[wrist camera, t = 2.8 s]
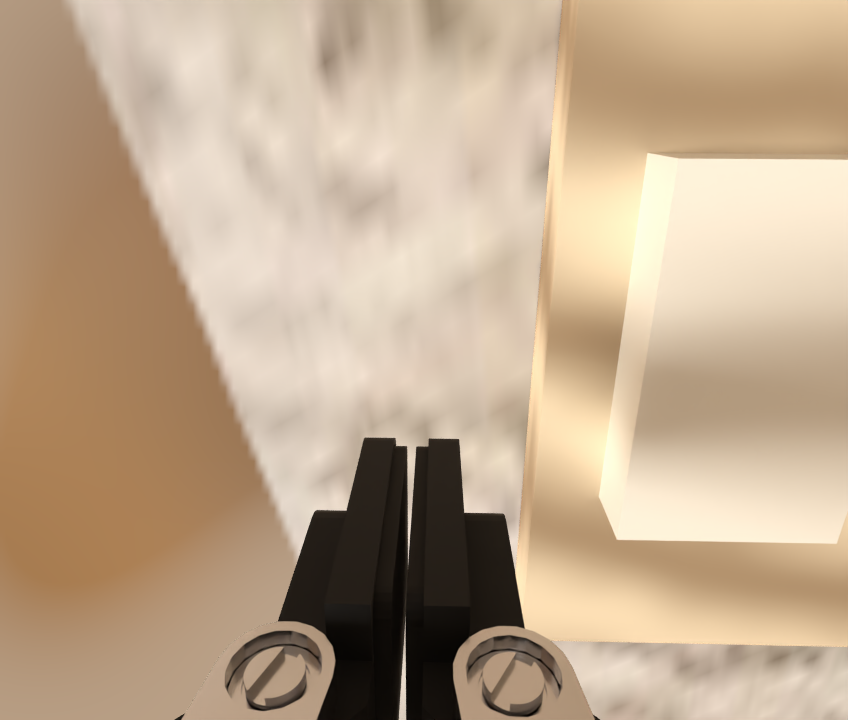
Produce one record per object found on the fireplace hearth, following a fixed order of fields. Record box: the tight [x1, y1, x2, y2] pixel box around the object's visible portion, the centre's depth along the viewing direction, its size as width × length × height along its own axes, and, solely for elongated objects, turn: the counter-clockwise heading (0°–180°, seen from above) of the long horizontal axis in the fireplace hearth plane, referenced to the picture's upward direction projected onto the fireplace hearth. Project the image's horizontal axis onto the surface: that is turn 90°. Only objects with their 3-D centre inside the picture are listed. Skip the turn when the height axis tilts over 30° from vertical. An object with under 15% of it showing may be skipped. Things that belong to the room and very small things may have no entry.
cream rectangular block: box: [599, 153, 848, 544], centre depth 15 cm, size 10×6×2 cm, turn 0°
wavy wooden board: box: [515, 0, 848, 647], centre depth 17 cm, size 22×14×2 cm, turn 0°
